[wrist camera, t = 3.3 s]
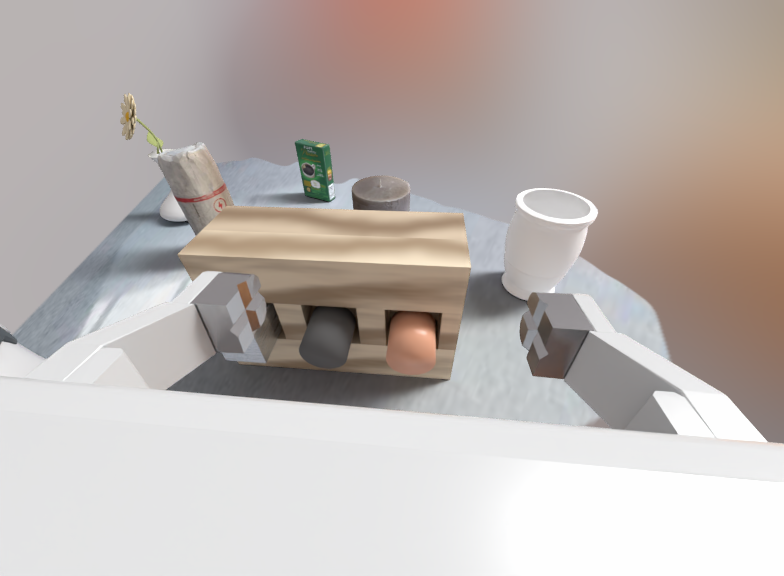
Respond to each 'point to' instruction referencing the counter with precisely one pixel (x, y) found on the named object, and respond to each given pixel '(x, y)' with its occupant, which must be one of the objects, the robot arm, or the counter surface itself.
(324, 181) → the coffee box
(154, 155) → the flower in vase
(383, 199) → the pillar candle
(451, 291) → the wooden holder box
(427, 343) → the terracotta button
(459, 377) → the counter surface
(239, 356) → the gray metal cube
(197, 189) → the paper wrapped package
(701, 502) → the robot arm
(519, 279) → the jar
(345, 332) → the dark grey cylinder
